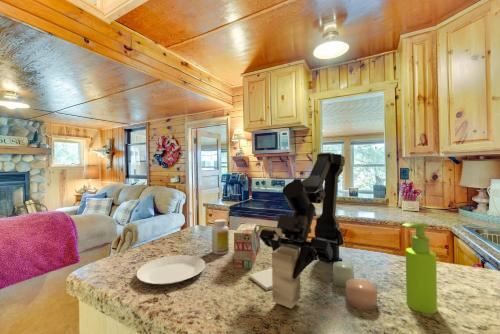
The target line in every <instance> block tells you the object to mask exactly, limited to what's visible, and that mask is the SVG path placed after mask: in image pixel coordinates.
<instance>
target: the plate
mask: <svg viewBox="0 0 500 334" xmlns="http://www.w3.org/2000/svg"><path fill="white" fill-rule="evenodd" d="M205 267H206V261H205V260H204V259H203V258H201V257H199V256H196V255H195V256H194V255H188V254H179V255H170V256H164V257H160V258H157V259H154V260H150V261H148V262H147V263H145V264H143V265H142V266H140V267H139V269H138V270H137V272H136V278H137V279H138V281H139V280H140V281H141V282H143V283H145V284H152V285H165V286H166V285H173V284H179V283H182V282H185V281H186V280H187V281H188V280H190V279H191V278H193V277H195V276H197V275H199V274H201V273H202V271H203V270H205Z"/></svg>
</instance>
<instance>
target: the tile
mask: <svg viewBox="0 0 500 334" xmlns="http://www.w3.org/2000/svg"><path fill="white" fill-rule="evenodd" d="M248 277H249V279H251V281H253V282H255V283H256V284H257V285H258V286H260V287H261V288H263V289H264V290H265V291H270V290H273V288H272V267H271V268H268V269H265V270H264V269H263V270H261V271H258V272H254V273H252V274H249V275H248Z"/></svg>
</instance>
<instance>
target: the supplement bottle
mask: <svg viewBox="0 0 500 334" xmlns="http://www.w3.org/2000/svg"><path fill="white" fill-rule="evenodd" d="M213 222H214V223H213V224H214V226H213V227H212V228H211V249H212V250H211V252H212V254H214V255H218V256H221V255H226V254H228V253H229V251H230V249H229V248H230V247H229V246H230V244H229V241H230V240H229V239H230V238H229V236H230V235H229V227H228V226H227V220H226V219H223V218H220V219H215V220H214V221H213Z"/></svg>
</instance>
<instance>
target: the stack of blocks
mask: <svg viewBox="0 0 500 334" xmlns="http://www.w3.org/2000/svg"><path fill="white" fill-rule="evenodd" d="M260 228H261V227H260V225H257V223H240V225H239V226H238V227H237V229H236V230H235V231H234V232H233V257H234V260H233V264H234V265H233V268H234V269H246V270H252V269H253V268H254V265H255V263H256V260H257V257H258V254H259V251H260V249H261V238H260V237H259V235H260V232H261V230H260Z"/></svg>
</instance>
